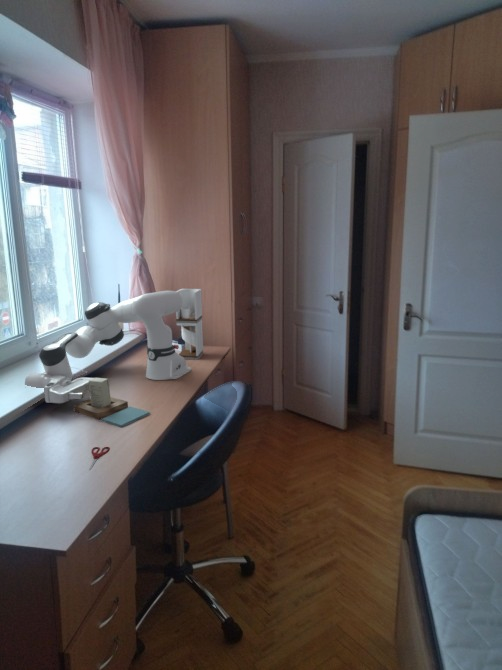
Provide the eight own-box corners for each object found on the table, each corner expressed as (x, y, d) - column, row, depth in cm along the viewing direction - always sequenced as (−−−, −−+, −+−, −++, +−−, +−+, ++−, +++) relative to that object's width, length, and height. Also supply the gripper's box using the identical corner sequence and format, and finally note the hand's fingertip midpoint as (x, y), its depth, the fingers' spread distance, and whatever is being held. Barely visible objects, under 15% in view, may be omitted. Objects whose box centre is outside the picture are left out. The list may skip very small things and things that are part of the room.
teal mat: (130, 408, 187) (130, 406, 187) (149, 413, 182) (149, 411, 182) (102, 420, 176) (101, 418, 176) (121, 427, 170) (121, 425, 170)
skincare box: (111, 408, 187) (109, 378, 184) (105, 413, 183) (102, 382, 180) (97, 406, 189) (95, 376, 186) (90, 410, 185) (88, 380, 182)
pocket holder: (103, 400, 195) (102, 394, 195) (128, 407, 188) (127, 401, 187) (74, 411, 184) (73, 405, 183) (99, 420, 176) (98, 413, 176)
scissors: (110, 449, 156) (110, 446, 155) (99, 471, 142) (98, 467, 142) (93, 449, 155) (93, 446, 155) (80, 471, 142) (80, 468, 142)
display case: (183, 353, 263) (181, 288, 255) (203, 353, 261) (201, 289, 253) (177, 359, 252) (175, 291, 244) (197, 359, 250) (196, 292, 242)
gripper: (79, 386, 200) (107, 390, 196) (42, 404, 182) (72, 409, 177) (78, 372, 199) (106, 376, 194) (41, 388, 180) (71, 392, 175)
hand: (90, 392), depth 185 cm, fingers open, 8 cm apart
